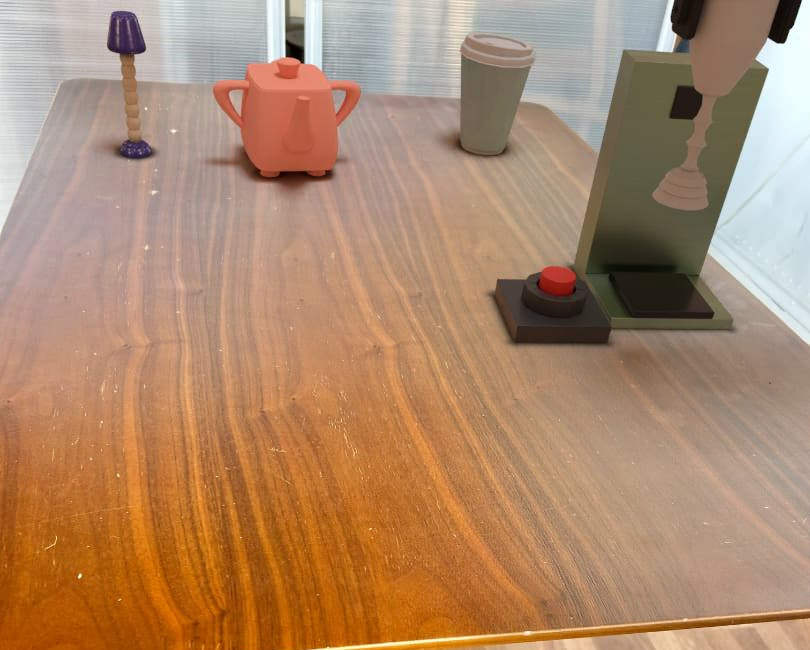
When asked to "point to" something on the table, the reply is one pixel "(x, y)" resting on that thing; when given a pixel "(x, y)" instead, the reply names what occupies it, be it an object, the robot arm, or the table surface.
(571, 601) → the table surface
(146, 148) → the toy lamp
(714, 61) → the chalice
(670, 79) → the green panel on base
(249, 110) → the teapot
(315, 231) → the table surface
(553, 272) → the button
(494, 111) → the disposable coffee cup
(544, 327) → the button block
